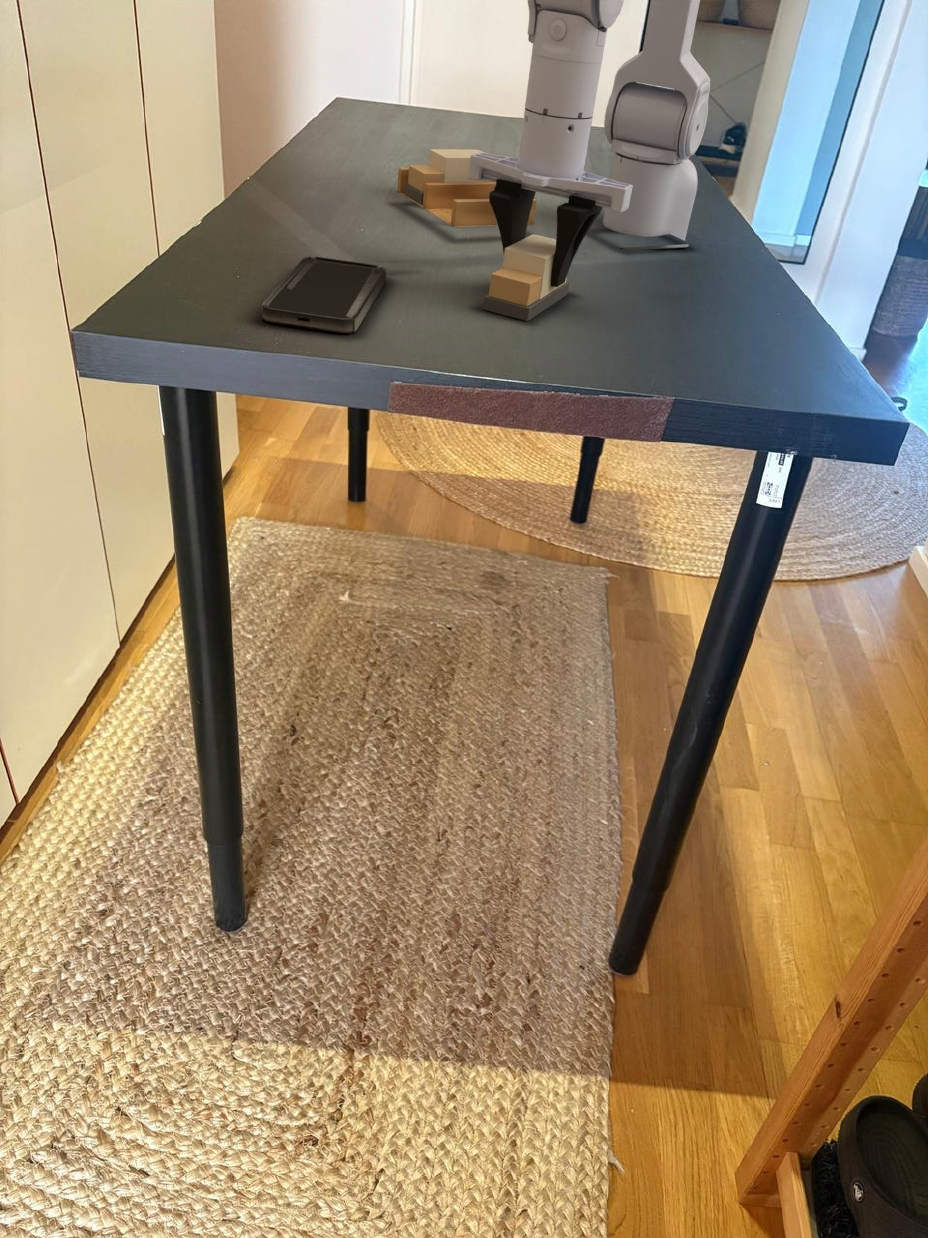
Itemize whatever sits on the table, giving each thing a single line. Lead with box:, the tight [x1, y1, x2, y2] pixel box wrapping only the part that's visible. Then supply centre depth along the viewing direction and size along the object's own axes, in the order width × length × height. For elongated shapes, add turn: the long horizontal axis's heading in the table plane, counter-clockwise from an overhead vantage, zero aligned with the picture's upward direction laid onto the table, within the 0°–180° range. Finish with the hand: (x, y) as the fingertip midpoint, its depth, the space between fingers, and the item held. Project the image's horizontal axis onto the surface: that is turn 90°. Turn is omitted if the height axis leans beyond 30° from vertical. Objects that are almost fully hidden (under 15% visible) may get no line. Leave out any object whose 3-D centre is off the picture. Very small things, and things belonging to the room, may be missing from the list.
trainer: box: [482, 233, 570, 322], centre depth 83 cm, size 10×4×5 cm, turn 153°
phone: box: [261, 256, 387, 334], centre depth 79 cm, size 8×1×15 cm
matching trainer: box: [405, 148, 491, 205], centre depth 105 cm, size 10×4×5 cm, turn 118°
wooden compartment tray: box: [396, 167, 537, 228], centre depth 104 cm, size 10×14×4 cm
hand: (534, 277), depth 84 cm, fingers closed on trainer, 4 cm apart
